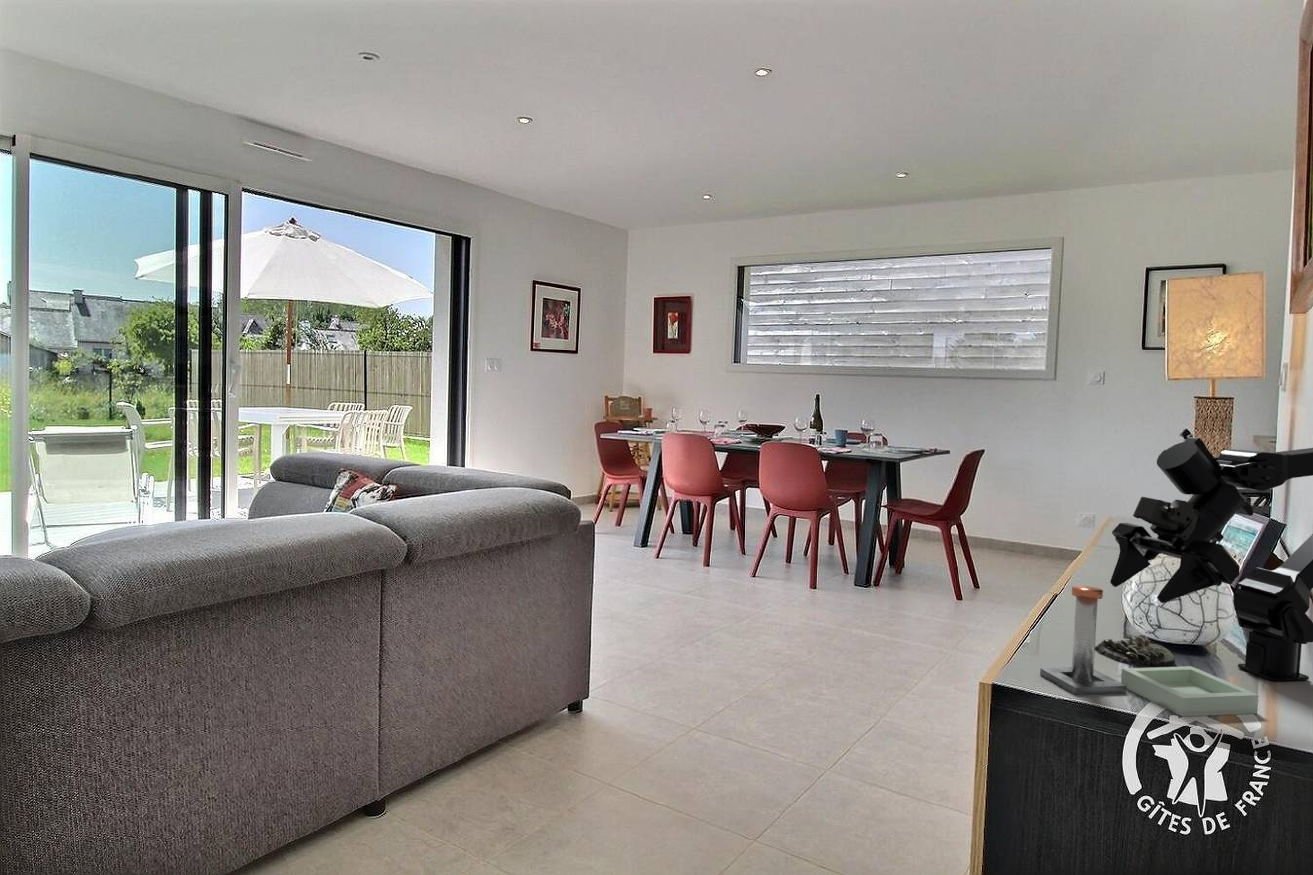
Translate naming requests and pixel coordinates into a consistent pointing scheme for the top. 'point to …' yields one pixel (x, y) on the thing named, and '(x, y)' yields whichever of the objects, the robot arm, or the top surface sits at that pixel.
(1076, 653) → the pin
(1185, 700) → the tray
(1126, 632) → the top surface
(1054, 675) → the collar plate
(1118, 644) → the dark brown textured lump
